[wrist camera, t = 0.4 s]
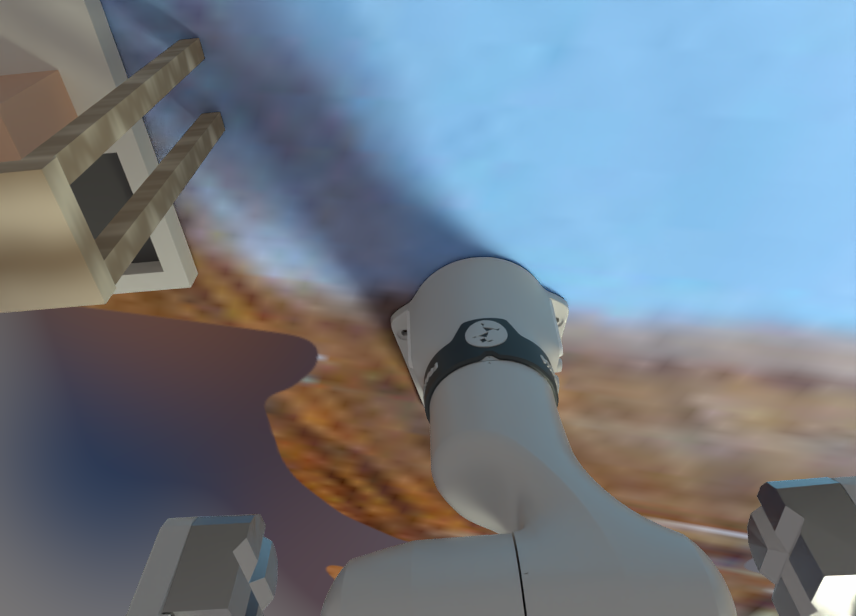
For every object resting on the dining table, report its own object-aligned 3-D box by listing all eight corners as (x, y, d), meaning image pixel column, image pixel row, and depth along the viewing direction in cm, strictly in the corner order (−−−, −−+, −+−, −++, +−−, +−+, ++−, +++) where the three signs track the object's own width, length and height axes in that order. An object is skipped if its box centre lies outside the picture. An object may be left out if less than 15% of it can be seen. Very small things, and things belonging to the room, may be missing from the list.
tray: (198, 273, 63) (190, 287, 61) (62, 285, 64) (51, 299, 62) (62, -104, 45) (45, -103, 43) (-126, -83, 45) (-152, -80, 43)
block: (88, 143, 53) (36, 188, 46) (19, 149, 53) (-44, 196, 46) (58, 69, 49) (-5, 106, 42) (-16, 77, 50) (-91, 114, 42)
